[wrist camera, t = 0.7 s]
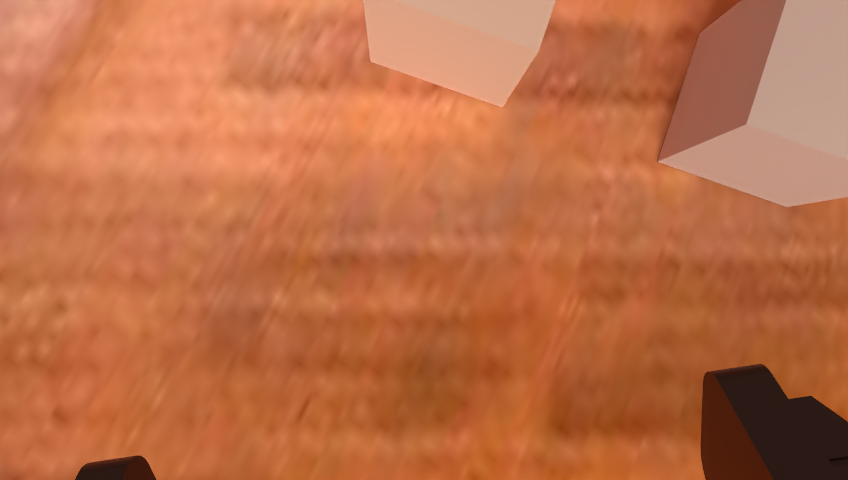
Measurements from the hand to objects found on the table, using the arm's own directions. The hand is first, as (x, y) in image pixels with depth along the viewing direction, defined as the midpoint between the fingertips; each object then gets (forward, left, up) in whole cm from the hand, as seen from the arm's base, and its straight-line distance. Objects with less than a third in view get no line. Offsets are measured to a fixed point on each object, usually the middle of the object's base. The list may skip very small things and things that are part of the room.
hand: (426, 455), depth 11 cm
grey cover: (+12, +14, -24) cm, 30 cm away
